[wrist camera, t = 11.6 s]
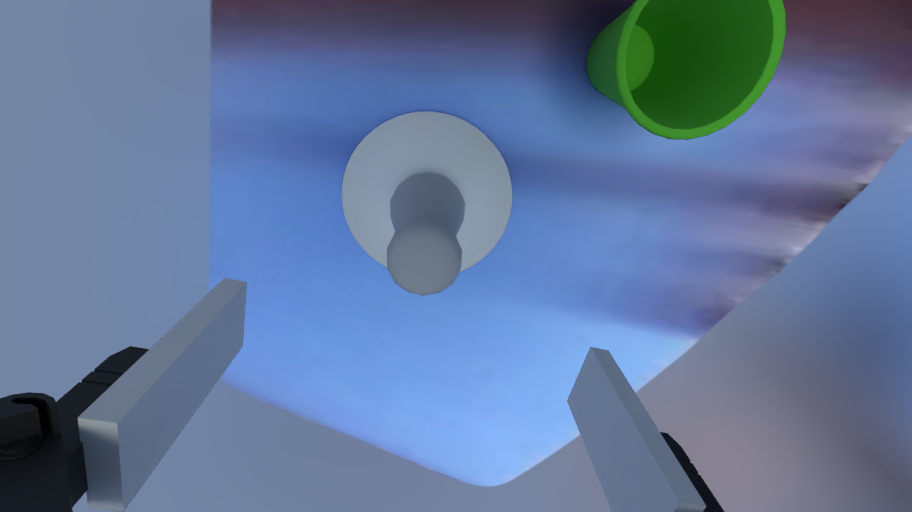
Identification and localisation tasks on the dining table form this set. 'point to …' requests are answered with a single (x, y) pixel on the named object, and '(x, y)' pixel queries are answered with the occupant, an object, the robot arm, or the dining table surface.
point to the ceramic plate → (418, 151)
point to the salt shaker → (425, 233)
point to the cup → (688, 61)
